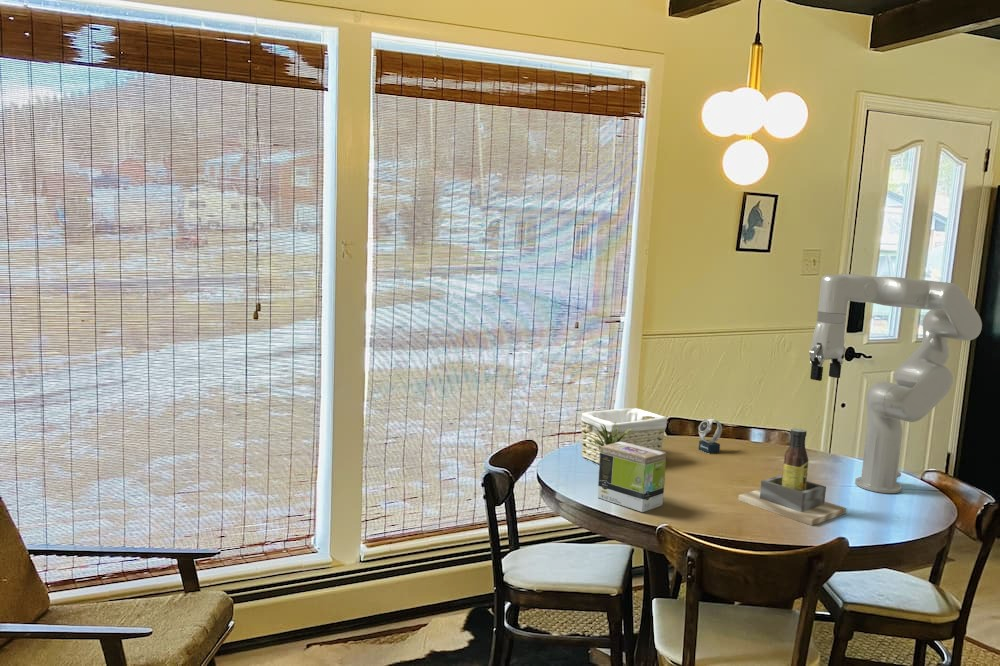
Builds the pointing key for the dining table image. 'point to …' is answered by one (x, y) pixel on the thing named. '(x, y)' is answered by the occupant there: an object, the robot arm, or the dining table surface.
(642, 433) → the storage basket
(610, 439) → the house plant
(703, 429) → the watch
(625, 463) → the tea box
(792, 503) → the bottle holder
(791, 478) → the sauce bottle
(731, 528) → the dining table surface
